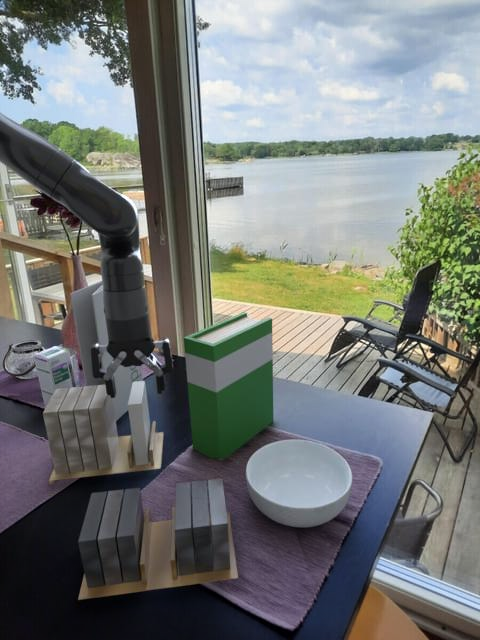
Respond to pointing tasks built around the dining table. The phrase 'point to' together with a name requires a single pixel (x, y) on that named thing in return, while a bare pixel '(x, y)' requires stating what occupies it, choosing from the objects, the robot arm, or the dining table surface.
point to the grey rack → (155, 542)
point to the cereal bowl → (298, 482)
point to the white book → (139, 422)
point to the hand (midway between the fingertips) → (136, 394)
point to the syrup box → (54, 371)
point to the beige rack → (91, 436)
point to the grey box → (95, 331)
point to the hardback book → (229, 383)
